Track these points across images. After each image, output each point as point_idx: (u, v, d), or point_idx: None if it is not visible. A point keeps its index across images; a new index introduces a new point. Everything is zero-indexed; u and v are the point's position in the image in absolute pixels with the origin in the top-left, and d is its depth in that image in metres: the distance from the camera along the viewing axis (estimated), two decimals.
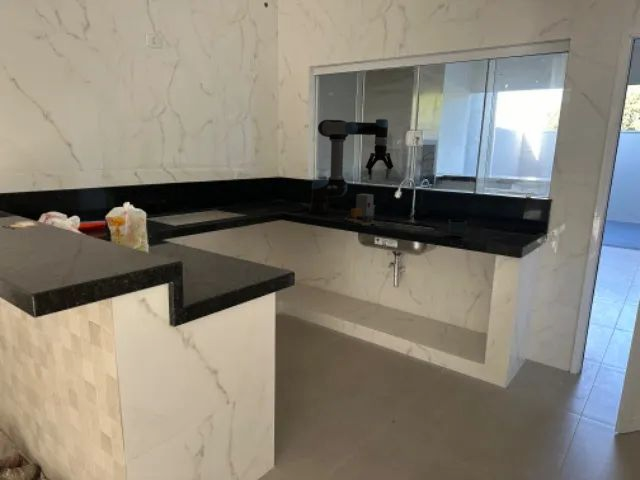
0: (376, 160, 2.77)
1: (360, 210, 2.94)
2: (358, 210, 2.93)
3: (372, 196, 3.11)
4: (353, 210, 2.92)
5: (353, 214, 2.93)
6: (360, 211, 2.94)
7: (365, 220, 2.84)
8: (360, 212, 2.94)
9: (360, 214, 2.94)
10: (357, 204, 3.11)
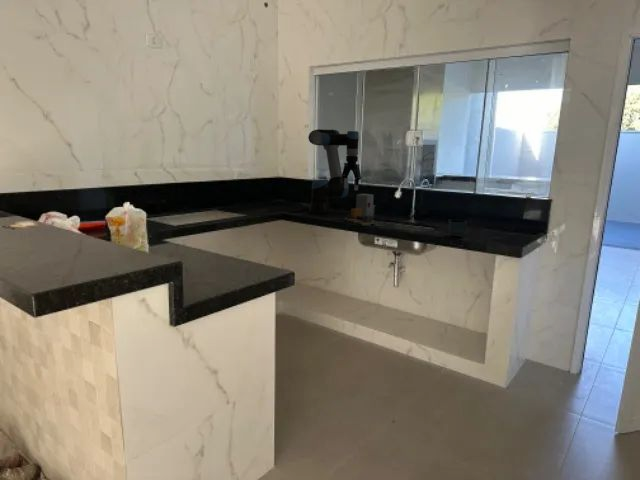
0: (346, 169, 2.97)
1: (360, 210, 2.94)
2: (358, 210, 2.93)
3: (372, 196, 3.11)
4: (353, 210, 2.92)
5: (353, 214, 2.93)
6: (360, 211, 2.94)
7: (365, 220, 2.84)
8: (360, 212, 2.94)
9: (360, 214, 2.94)
10: (357, 204, 3.11)
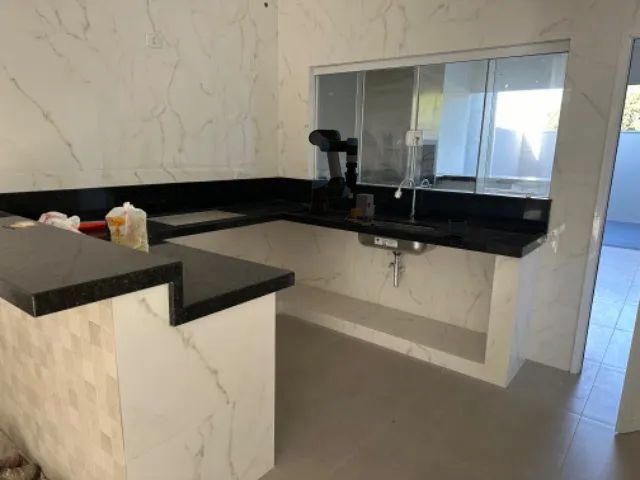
0: (348, 177, 2.96)
1: (360, 210, 2.94)
2: (358, 210, 2.93)
3: (372, 196, 3.11)
4: (353, 210, 2.92)
5: (353, 214, 2.93)
6: (360, 211, 2.94)
7: (365, 220, 2.84)
8: (360, 212, 2.94)
9: (360, 214, 2.94)
10: (357, 204, 3.11)
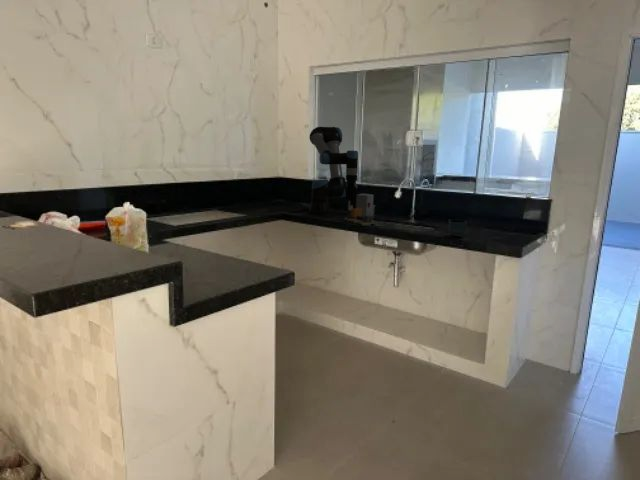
0: (348, 189, 2.98)
1: (360, 210, 2.94)
2: (358, 210, 2.93)
3: (372, 196, 3.11)
4: (353, 210, 2.92)
5: (353, 214, 2.93)
6: (360, 211, 2.94)
7: (365, 220, 2.84)
8: (360, 212, 2.94)
9: (360, 214, 2.94)
10: (357, 204, 3.11)
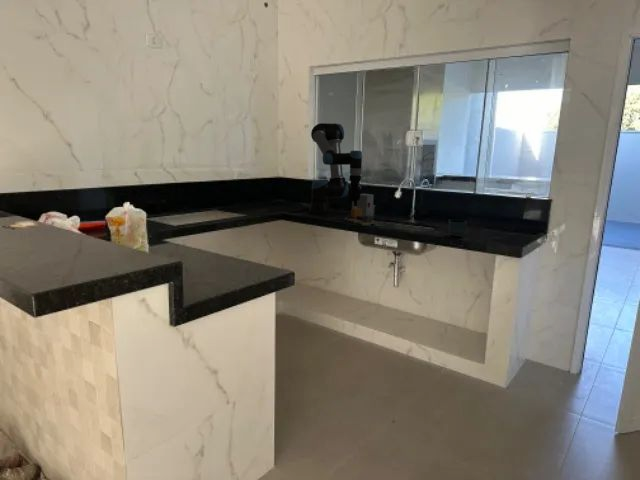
0: (352, 190, 2.94)
1: (360, 210, 2.94)
2: (358, 210, 2.93)
3: (372, 196, 3.11)
4: (353, 210, 2.92)
5: (353, 214, 2.93)
6: (360, 211, 2.94)
7: (365, 220, 2.84)
8: (360, 212, 2.94)
9: (360, 214, 2.94)
10: (357, 204, 3.11)
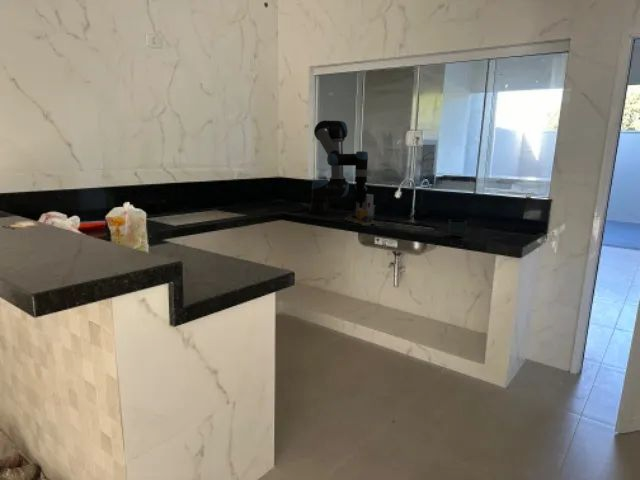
0: (357, 191, 2.89)
1: (366, 211, 2.89)
2: (364, 211, 2.88)
3: (372, 196, 3.11)
4: (359, 211, 2.87)
5: (358, 216, 2.88)
6: (366, 212, 2.89)
7: (365, 220, 2.84)
8: (365, 213, 2.89)
9: (366, 215, 2.89)
10: None
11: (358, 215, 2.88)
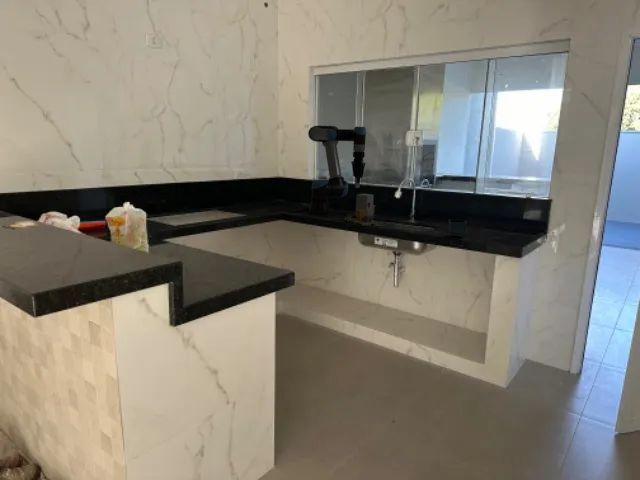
0: (355, 167, 2.93)
1: (366, 211, 2.89)
2: (364, 211, 2.88)
3: (372, 196, 3.11)
4: (359, 211, 2.87)
5: (358, 216, 2.88)
6: (366, 212, 2.89)
7: (365, 220, 2.84)
8: (365, 213, 2.89)
9: (366, 215, 2.89)
10: (357, 204, 3.11)
11: (358, 215, 2.88)
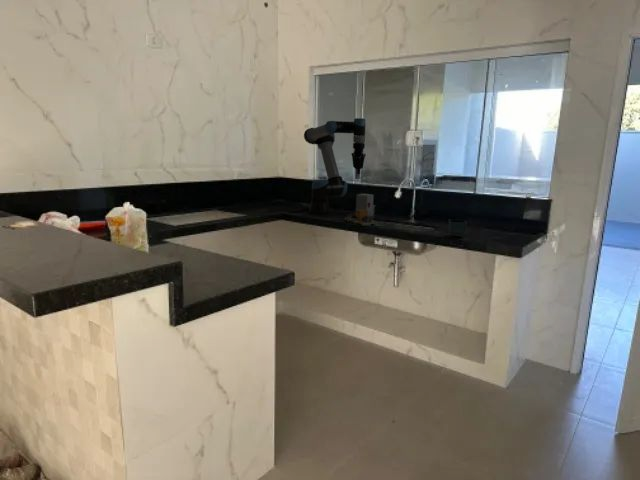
0: (355, 158, 2.97)
1: (366, 211, 2.89)
2: (364, 211, 2.88)
3: (372, 196, 3.11)
4: (359, 211, 2.87)
5: (358, 216, 2.88)
6: (366, 212, 2.89)
7: (365, 220, 2.84)
8: (365, 213, 2.89)
9: (366, 215, 2.89)
10: (357, 204, 3.11)
11: (358, 215, 2.88)
